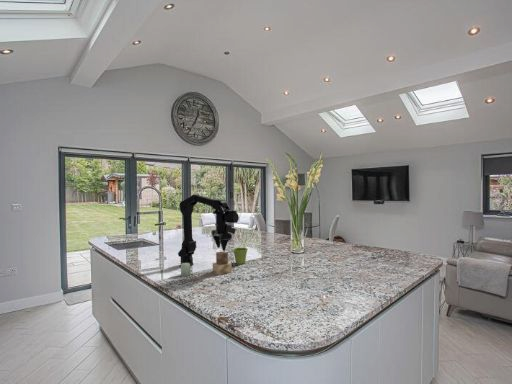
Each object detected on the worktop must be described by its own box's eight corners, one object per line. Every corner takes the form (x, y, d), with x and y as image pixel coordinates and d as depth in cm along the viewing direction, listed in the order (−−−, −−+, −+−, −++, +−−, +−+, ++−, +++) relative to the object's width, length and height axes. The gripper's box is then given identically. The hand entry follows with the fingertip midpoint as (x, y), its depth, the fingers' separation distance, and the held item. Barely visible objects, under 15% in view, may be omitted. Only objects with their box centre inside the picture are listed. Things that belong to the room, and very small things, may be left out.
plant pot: (246, 265, 179) (245, 251, 179) (231, 264, 181) (230, 250, 181) (249, 261, 188) (249, 247, 188) (235, 260, 190) (235, 247, 190)
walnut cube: (219, 264, 163) (219, 254, 163) (216, 262, 167) (216, 252, 167) (227, 263, 165) (227, 253, 165) (224, 261, 169) (224, 251, 169)
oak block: (218, 275, 161) (218, 266, 160) (212, 271, 167) (212, 262, 167) (231, 272, 165) (231, 263, 164) (225, 269, 171) (225, 260, 171)
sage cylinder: (179, 275, 160) (178, 264, 160) (184, 273, 165) (183, 262, 165) (187, 276, 158) (187, 265, 158) (192, 273, 163) (191, 263, 163)
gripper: (240, 222, 163) (240, 251, 163) (228, 219, 180) (228, 245, 180) (221, 224, 158) (221, 253, 158) (210, 220, 175) (211, 246, 175)
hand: (221, 249), depth 168 cm, fingers open, 9 cm apart
